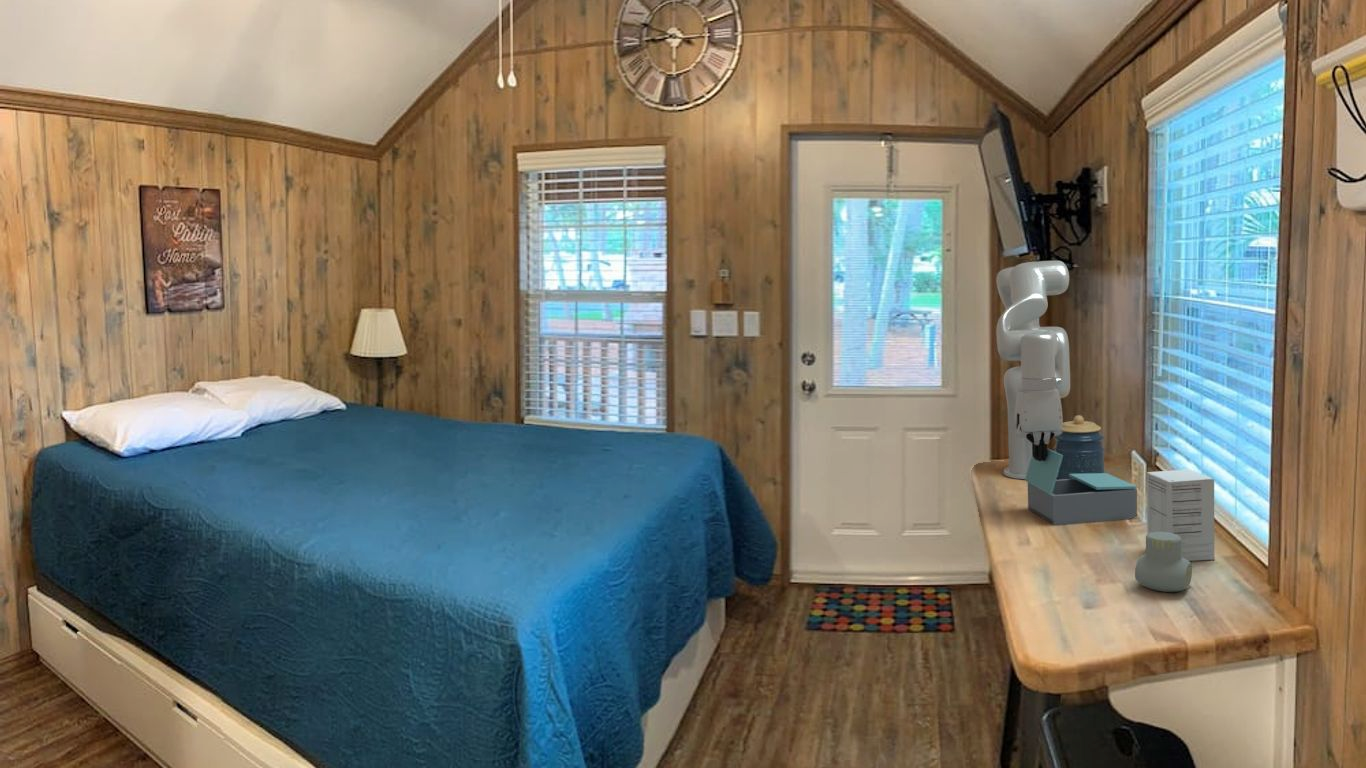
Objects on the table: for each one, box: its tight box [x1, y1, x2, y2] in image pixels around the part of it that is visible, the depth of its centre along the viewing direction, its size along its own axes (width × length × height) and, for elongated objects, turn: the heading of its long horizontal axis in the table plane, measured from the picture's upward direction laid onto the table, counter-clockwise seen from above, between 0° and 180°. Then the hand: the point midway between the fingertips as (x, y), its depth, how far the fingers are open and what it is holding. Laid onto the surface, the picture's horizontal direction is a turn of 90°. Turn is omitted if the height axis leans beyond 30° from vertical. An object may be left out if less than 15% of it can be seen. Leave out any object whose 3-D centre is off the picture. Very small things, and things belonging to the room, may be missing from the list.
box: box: [1027, 478, 1138, 526], centre depth 212 cm, size 14×20×7 cm
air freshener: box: [1134, 532, 1193, 593], centre depth 164 cm, size 11×8×10 cm
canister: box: [1053, 414, 1106, 480], centre depth 245 cm, size 13×13×18 cm
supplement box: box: [1146, 469, 1216, 562], centre depth 180 cm, size 10×9×17 cm
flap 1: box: [1024, 447, 1063, 495], centre depth 211 cm, size 14×10×1 cm
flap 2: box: [1069, 472, 1138, 490], centre depth 212 cm, size 14×10×1 cm
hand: (1039, 459), depth 211 cm, fingers closed
